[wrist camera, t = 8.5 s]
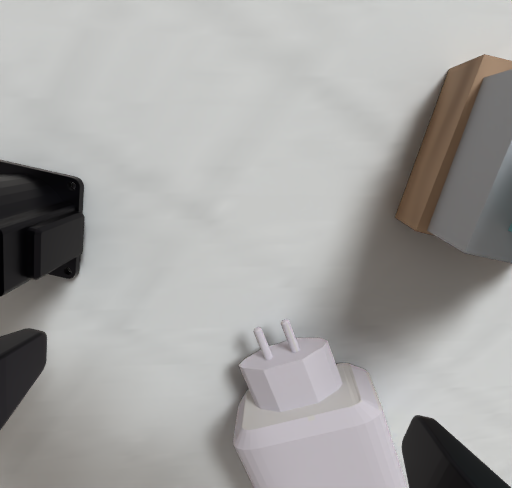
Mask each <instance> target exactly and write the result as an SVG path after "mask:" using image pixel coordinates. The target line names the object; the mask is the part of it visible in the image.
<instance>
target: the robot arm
mask: <svg viewBox="0 0 512 488" xmlns="http://www.w3.org/2000/svg"><path fill="white" fill-rule="evenodd" d="M72 182H74V183H75V185H76V188H75V189H73V187H72V185H71V183H72ZM83 192H84V185H83V182H82V180H81V179H79V178H78V177H75V176H70V175H66V174H61V173H57V172H52V171H48V170H43V169H39V168H35V167H30V166H26V165H21V164H17V163H12V162H8V161H3V160H0V296H3V295H4V294H6V293H8V292H10V291H12V290H13V289H15V288H17V287H19V286H20V285H22V284H24V283H26V282H27V281H29V280H31V279H35V280H37V279H39V278H41V277H43V276H45V275H46V274H50V275H54V276H59V277H63V278H73V277H75V276H76V275H77V274H78V273H79V263H80V254H82V251H83V234H84V215H83V213H82V210H83ZM68 268H70V269H71V271H72V273H71V272H69V271H68ZM46 356H47V335H46V333H45V332H43V331H39V330H35V329H29V328H28V329H23V330H20V331H17V332H14V333H11V334H7V335H4V336H1V337H0V430H1V428H2V427H3V426H4V424H5V423H6V422H7V420H8V419H9V417H10V416H11V415H12V413H13V412H14V410H15V409H16V407H17V406H18V405H19V403H20V402H21V400H22V399H23V398H24V396H25V395H26V393H27V392H28V391H29V389H30V388H31V386H32V385H33V383H34V382H35V381H36V379H37V378H38V376H39V375H40V374H41V372H42V371H43V369H44V367H45V364H46ZM402 453H403V458H404V463H405V468H406V473H407V478H408V484H409V488H511V487H510V486H509V485H508V484H507V483H505V482H504V481H503V480H502V479H501V478H500V477H499V476H498V475H496V474H495V473H494V472H493V471H492V470H491V469H490V468H489V467H487V466H486V465H485V464H484V463H483V462H482V461H481V460H480V459H478V458H477V457H476V456H475V455H474V454H473V453H472V452H471V451H469V450H468V449H467V448H466V447H465V446H464V445H463V444H462V443H460V442H459V441H458V440H457V439H456V438H455V437H454V436H453V435H452V434H450V433H449V432H448V431H447V430H446V429H445V428H444V427H443V426H441V425H440V424H439V423H438V422H437V421H436V420H434V419H432V418H429V417H425V416H420V415H417V416H415V417H413V419H412V421H411V423H410V425H409V427H408V430H407V432H406V434H405V436H404V438H403V441H402Z"/></svg>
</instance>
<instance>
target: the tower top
mask: <svg viewBox="0 0 512 488" xmlns="http://www.w3.org/2000/svg"><path fill="white" fill-rule="evenodd" d="M511 223H512V69H511V70H507V71H504V72H501V73H497V74H494V75H491V76H487V77H484V78H483V81H482V84H481V86H480V89H479V92H478V95H477V97H476V100H475V103H474V105H473V108H472V111H471V113H470V116H469V119H468V121H467V124H466V127H465V129H464V132H463V135H462V138H461V140H460V143H459V146H458V148H457V151H456V154H455V156H454V159H453V162H452V164H451V167H450V170H449V173H448V175H447V178H446V181H445V183H444V186H443V189H442V191H441V194H440V197H439V199H438V202H437V205H436V208H435V210H434V213H433V216H432V218H431V221H430V224H429V226H428V229H427V231H429V232H430V233H432V234H434V235H435V236H437V237H439V238H440V239H442V240H444V241H445V242H447V243H449V244H450V245H452V246H453V247H455V248H457V249H458V250H460V251H462V252H463V253H466V254H471V255H476V256H480V257H485V258H490V259H495V260H499V261H504V262H509V263H512V232H510V231H508V230H509V227H510V225H511Z"/></svg>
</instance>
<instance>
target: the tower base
mask: <svg viewBox="0 0 512 488" xmlns="http://www.w3.org/2000/svg"><path fill="white" fill-rule="evenodd" d="M511 69H512V61H510V60H506V59H501V58H497V57H493V56H489V55H485V54H484V55H482V56H479V57H477V58H475V59H472V60H470V61H467V62H465V63H463V64H460V65H458V66H455V67H453V68H450V69H449V70H448V73H447V76H446V79H445V81H444V84H443V87H442V90H441V92H440V95H439V98H438V101H437V103H436V106H435V109H434V111H433V114H432V117H431V120H430V122H429V125H428V128H427V131H426V133H425V136H424V139H423V142H422V144H421V147H420V150H419V153H418V155H417V158H416V161H415V163H414V166H413V169H412V172H411V174H410V177H409V180H408V183H407V185H406V188H405V191H404V194H403V196H402V199H401V202H400V205H399V207H398V210H397V213H396V216H395V218H397V219H398V220H400V221H401V222H403V223H404V224H406V225H407V226H409V227H410V228H412V229H413V230H415V231H417V232H422V233H426V234H430V235H434V234H432V233H430V232H429V231H427V229H428V226H429V224H430V221H431V218H432V216H433V213H434V210H435V208H436V205H437V202H438V199H439V197H440V194H441V191H442V189H443V186H444V183H445V181H446V178H447V175H448V173H449V170H450V167H451V164H452V162H453V159H454V156H455V154H456V151H457V148H458V146H459V143H460V140H461V138H462V135H463V132H464V129H465V127H466V124H467V121H468V119H469V116H470V113H471V111H472V108H473V105H474V103H475V100H476V97H477V95H478V92H479V89H480V86H481V84H482V81H483V78H484V77H487V76H491V75H494V74H497V73H501V72H504V71H507V70H511ZM434 236H435V235H434Z"/></svg>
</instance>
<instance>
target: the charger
mask: <svg viewBox="0 0 512 488" xmlns="http://www.w3.org/2000/svg"><path fill="white" fill-rule="evenodd" d="M281 325H282V328H283V331H284V333H285V336H286V338H287V341H284V342H281V343H277V344H274V345H270V346H269V345H268V343H267V340H266V338H265V335H264V333H263V331H262V328H260V327H257V328H255V329H254V331H253V332H254V334H255V337H256V339H257V341H258V344H259V346H260V349H261V350H259V351H257V352H256V353H254V354H252V355H250V356H249V357H247V358H245V359H244V360H243V361H242V362H241V363H240V364H239V368H240V370H241V372H242V374H243V377H244V379H245V381H246V384H247V386H248V388H249V389H248V390H247V391H246V393H245V395H244V396H243V398H242V400H241V401H240V403H239V405H238V411H237V418H236V425H235V432H234V439H233V445H234V447H235V449H236V452H237V454H238V456H239V458H240V460H241V462H242V464H243V466H244V468H245V470H246V472H247V474H248V477H249V479H250V481H251V483H252V485H253V487H254V488H407V485H406V481H405V478H404V475H403V472H402V469H401V466H400V462H399V459H398V456H397V453H396V450H395V447H394V443H393V440H392V437H391V434H390V431H389V427H388V424H387V421H386V418H385V415H384V412H383V408H382V406H381V403H380V401H379V398H378V395H377V393H376V390H375V388H374V385H373V383H372V380H371V378H370V375H369V372H368V371H367V370H365V369H362V368H359V367H357V366H354V365H352V364H349V363H339V364H336V363H335V360H334V357H333V354H332V351H331V348H330V345H329V343H328V341H327V340H324V339H322V338H296V337H295V335H294V332H293V329H292V327H291V324H290V321H289V320H287V319H284V320H282V322H281Z"/></svg>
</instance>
